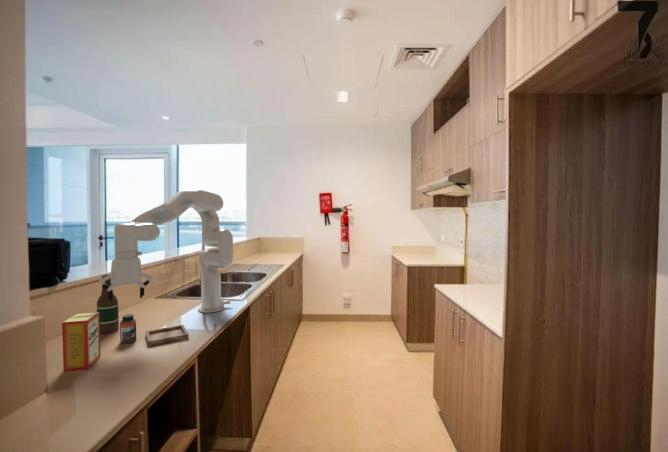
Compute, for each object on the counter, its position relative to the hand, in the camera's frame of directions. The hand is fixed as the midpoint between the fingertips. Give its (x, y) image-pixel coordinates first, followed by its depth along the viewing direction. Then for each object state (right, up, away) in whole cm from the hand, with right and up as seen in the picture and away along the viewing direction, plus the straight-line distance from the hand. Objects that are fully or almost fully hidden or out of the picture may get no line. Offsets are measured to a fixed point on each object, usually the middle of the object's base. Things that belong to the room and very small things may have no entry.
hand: (126, 299), depth 124 cm
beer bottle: (-16, -17, +12) cm, 26 cm away
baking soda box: (-3, -18, -18) cm, 25 cm away
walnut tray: (+13, -17, +5) cm, 22 cm away
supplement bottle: (0, -17, +1) cm, 17 cm away
